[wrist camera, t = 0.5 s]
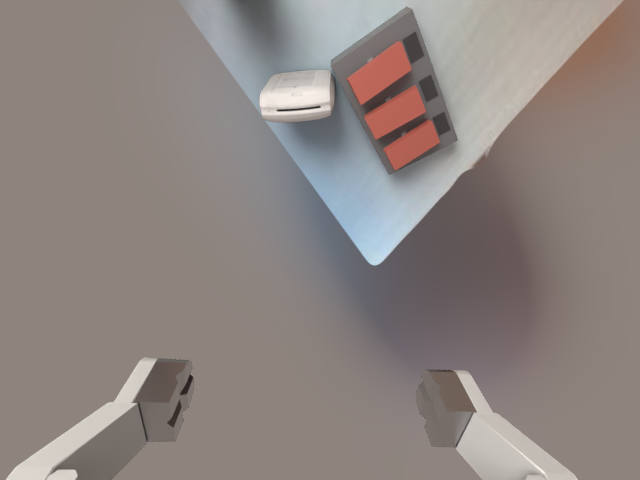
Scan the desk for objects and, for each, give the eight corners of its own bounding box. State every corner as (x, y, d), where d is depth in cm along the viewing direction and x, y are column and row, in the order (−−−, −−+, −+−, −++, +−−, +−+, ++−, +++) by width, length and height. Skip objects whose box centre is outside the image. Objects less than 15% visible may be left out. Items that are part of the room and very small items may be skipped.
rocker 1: (397, 41, 40) (401, 41, 39) (408, 68, 42) (411, 69, 41) (346, 78, 42) (348, 80, 41) (358, 103, 44) (361, 105, 43)
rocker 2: (414, 84, 43) (416, 87, 42) (424, 108, 45) (426, 111, 44) (363, 115, 46) (364, 118, 45) (374, 136, 48) (375, 139, 47)
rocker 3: (428, 119, 47) (432, 121, 46) (436, 139, 49) (440, 142, 48) (382, 149, 48) (385, 151, 47) (392, 167, 50) (395, 170, 49)
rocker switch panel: (406, 6, 41) (413, 9, 38) (450, 130, 52) (458, 141, 49) (330, 60, 46) (330, 67, 42) (386, 164, 56) (389, 176, 53)
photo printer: (273, 101, 50) (259, 129, 41) (268, 72, 47) (252, 95, 38) (335, 96, 49) (336, 124, 40) (334, 66, 46) (334, 89, 37)
